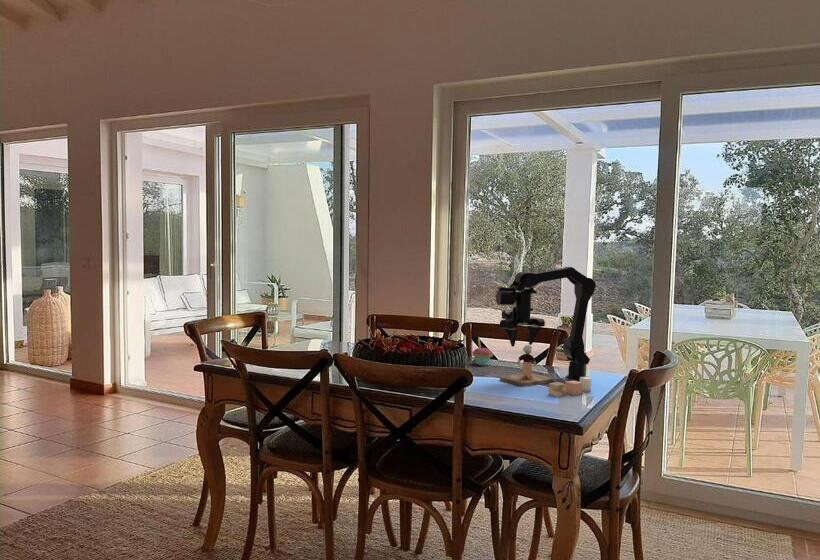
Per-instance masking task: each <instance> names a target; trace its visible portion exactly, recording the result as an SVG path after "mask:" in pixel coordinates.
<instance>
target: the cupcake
mask: <svg viewBox="0 0 820 560" xmlns="http://www.w3.org/2000/svg"><path fill="white" fill-rule="evenodd" d="M477 340H478V341H477V342H478V347H477V348H476V349H473V351H472V356H473V357H474V359H475V362H476V363H475V364H476V365H477V364H479V365H478V366H488V365H489V362H490V359H491V358H492V357H493V356H494V353H493V351H492V350H490V349H489V348H486V347H482V346H481V339H480V337H479V335H478V339H477Z"/></svg>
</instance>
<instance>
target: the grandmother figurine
mask: <svg viewBox="0 0 820 560" xmlns="http://www.w3.org/2000/svg"><path fill="white" fill-rule="evenodd" d="M532 347H533V346H532V345H529V344H526V345H524V347H523V349H522V351H523V352H524V354H522V355H520V356H519V357H518V360H517V363H518V364H520V363H521V361H523V362H522V374H523V377H522V378H527V379H534V377H533V376H532V373H533V366H534V367H537V362H536V359H535V357H534V356H533V355H531V354H532ZM528 376H529V377H528Z"/></svg>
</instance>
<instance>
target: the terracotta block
mask: <svg viewBox="0 0 820 560" xmlns="http://www.w3.org/2000/svg"><path fill="white" fill-rule="evenodd" d="M565 384H566V393H565V394H568V395H572V396H576V395H577V396H578V395H581V394H582V393H583V391H582V383H581V382H580V381H578V380H569V381H568V380H567V381H565Z"/></svg>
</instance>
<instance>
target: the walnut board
mask: <svg viewBox="0 0 820 560" xmlns="http://www.w3.org/2000/svg"><path fill="white" fill-rule="evenodd" d="M532 376H533V377H534V379H527V378H522V377H523V373H521V374H511V375H505V376H500V378H499V380H500V381H502V382H505V383H509V384H512V385H516V386H518V387H521V388H522V387H528V386H536V385H542V384H549V383H554V378H551V377H547V376H543V375H540V374H537V373H534V372H532ZM528 377H529V376H528Z"/></svg>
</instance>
